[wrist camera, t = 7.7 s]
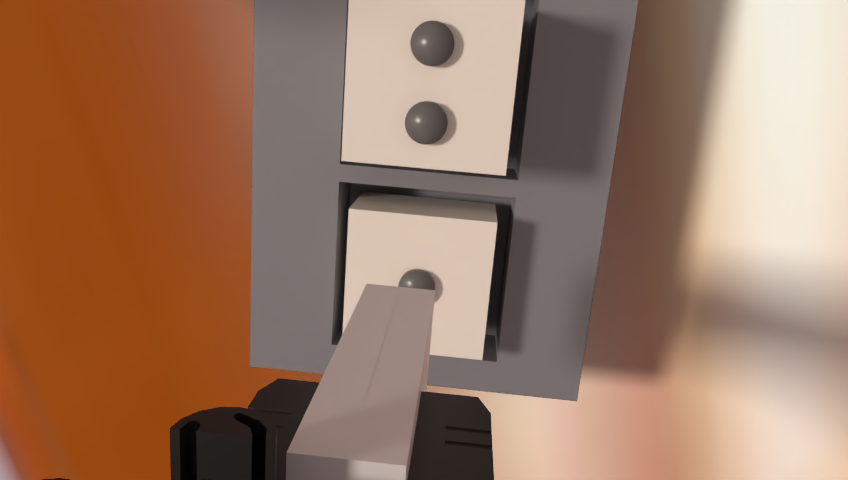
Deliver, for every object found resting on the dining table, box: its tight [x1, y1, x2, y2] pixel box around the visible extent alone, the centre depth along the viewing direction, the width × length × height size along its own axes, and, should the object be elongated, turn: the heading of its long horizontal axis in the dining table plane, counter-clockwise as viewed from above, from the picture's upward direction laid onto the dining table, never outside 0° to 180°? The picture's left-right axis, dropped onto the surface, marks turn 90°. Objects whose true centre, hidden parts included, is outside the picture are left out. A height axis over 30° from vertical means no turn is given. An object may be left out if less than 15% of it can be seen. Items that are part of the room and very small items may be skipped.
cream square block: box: [341, 0, 525, 176], centre depth 17 cm, size 4×4×3 cm
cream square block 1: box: [342, 192, 497, 360], centre depth 20 cm, size 4×4×3 cm
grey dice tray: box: [250, 0, 638, 401], centre depth 20 cm, size 10×18×3 cm, turn 176°
